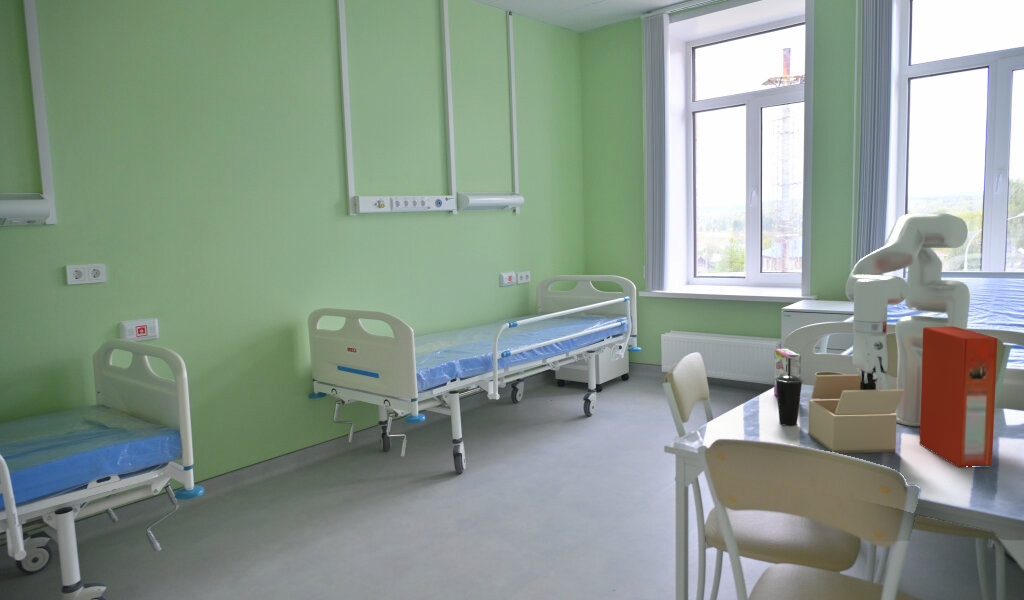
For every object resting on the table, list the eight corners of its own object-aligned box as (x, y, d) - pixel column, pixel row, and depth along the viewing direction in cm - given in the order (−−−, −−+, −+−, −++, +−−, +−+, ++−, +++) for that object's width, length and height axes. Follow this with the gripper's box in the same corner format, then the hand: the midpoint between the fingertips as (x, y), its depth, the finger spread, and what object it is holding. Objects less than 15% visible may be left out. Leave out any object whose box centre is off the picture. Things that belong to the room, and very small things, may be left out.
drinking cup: (804, 427, 197) (806, 361, 195) (777, 426, 198) (778, 360, 196) (799, 420, 204) (800, 355, 202) (772, 419, 206) (773, 355, 204)
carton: (865, 432, 191) (866, 398, 190) (895, 452, 175) (896, 414, 174) (808, 433, 191) (809, 399, 190) (833, 453, 176) (834, 416, 174)
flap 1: (865, 397, 189) (865, 396, 189) (872, 375, 185) (871, 373, 185) (811, 398, 190) (811, 397, 190) (817, 376, 185) (816, 375, 186)
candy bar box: (772, 394, 234) (773, 348, 232) (787, 394, 233) (788, 348, 231) (785, 403, 222) (786, 355, 220) (800, 403, 222) (801, 354, 220)
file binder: (957, 467, 163) (963, 338, 159) (918, 444, 180) (923, 327, 176) (991, 467, 163) (998, 337, 159) (949, 443, 180) (954, 326, 176)
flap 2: (902, 389, 170) (903, 390, 169) (893, 411, 174) (894, 413, 174) (842, 390, 170) (843, 392, 170) (835, 412, 175) (835, 414, 174)
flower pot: (810, 396, 231) (811, 371, 230) (839, 396, 229) (840, 371, 228) (819, 403, 221) (819, 377, 220) (849, 403, 220) (850, 377, 219)
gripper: (900, 331, 163) (897, 405, 165) (870, 322, 177) (868, 389, 180) (868, 332, 163) (866, 405, 165) (841, 322, 178) (840, 390, 180)
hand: (867, 397), depth 172 cm, fingers closed
